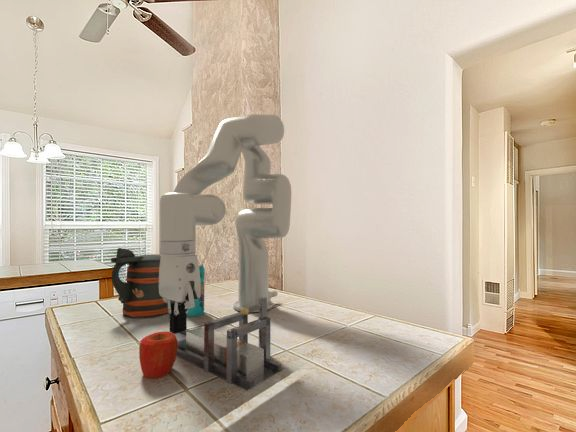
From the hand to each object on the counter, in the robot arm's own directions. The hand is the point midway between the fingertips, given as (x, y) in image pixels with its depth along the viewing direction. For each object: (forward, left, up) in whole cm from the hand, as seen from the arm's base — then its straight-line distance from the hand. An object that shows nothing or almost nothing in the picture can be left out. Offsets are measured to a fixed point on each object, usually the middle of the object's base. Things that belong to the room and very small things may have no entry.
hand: (178, 331), depth 68 cm
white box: (+1, +16, -2) cm, 16 cm away
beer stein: (-7, -29, -3) cm, 30 cm away
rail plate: (0, +11, -3) cm, 11 cm away
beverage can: (-14, -14, -3) cm, 20 cm away
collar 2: (0, +23, -3) cm, 23 cm away
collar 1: (0, +17, -3) cm, 17 cm away
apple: (+10, +11, -3) cm, 15 cm away
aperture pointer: (-4, +20, -3) cm, 21 cm away
